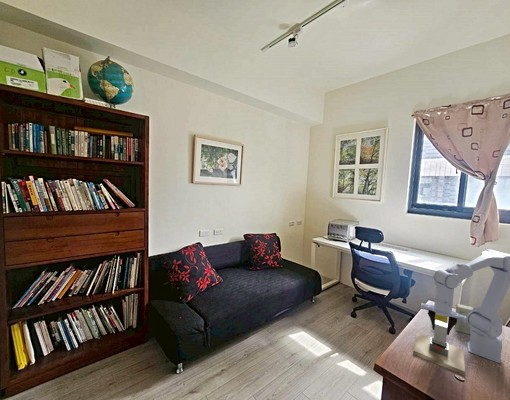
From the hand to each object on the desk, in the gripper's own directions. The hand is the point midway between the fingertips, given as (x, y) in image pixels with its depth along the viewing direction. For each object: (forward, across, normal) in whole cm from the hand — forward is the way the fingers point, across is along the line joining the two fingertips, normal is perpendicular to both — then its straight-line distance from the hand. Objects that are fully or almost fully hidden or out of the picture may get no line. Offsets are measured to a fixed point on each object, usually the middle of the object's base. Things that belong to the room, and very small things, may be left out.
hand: (440, 331), depth 97 cm
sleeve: (+8, 0, 0) cm, 8 cm away
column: (+5, 0, 0) cm, 5 cm away
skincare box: (+10, +9, +29) cm, 32 cm away
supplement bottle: (+10, 0, +26) cm, 28 cm away
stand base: (+10, 0, 0) cm, 10 cm away
